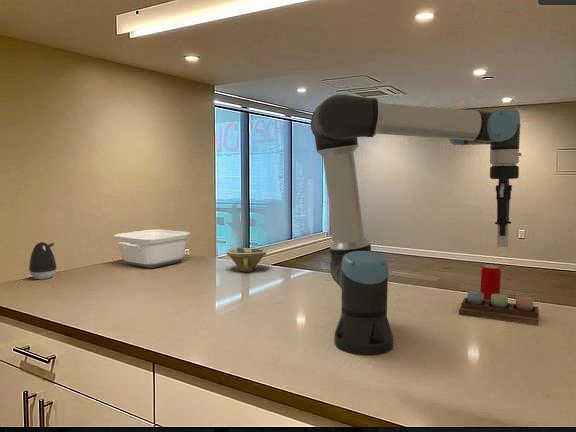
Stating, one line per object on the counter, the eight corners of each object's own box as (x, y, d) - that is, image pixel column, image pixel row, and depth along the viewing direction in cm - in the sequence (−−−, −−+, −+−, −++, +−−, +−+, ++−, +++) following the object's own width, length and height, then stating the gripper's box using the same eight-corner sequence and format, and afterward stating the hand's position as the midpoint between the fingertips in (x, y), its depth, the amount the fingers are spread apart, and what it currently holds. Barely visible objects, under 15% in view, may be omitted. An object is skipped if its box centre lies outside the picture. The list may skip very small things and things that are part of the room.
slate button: (482, 304, 145) (482, 295, 145) (466, 302, 147) (466, 293, 147) (484, 301, 149) (484, 292, 149) (468, 299, 152) (468, 290, 151)
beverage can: (495, 303, 157) (497, 269, 156) (477, 300, 161) (478, 266, 160) (502, 300, 161) (503, 266, 160) (483, 296, 166) (485, 263, 164)
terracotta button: (532, 311, 139) (533, 301, 138) (515, 309, 141) (515, 299, 141) (533, 307, 143) (533, 297, 142) (515, 305, 145) (516, 295, 145)
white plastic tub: (145, 274, 202) (144, 240, 201) (104, 266, 218) (103, 235, 216) (200, 261, 231) (199, 232, 229) (160, 255, 246) (159, 228, 245)
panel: (538, 325, 135) (538, 315, 135) (458, 314, 145) (459, 305, 145) (538, 314, 145) (539, 305, 145) (464, 304, 156) (464, 296, 156)
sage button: (507, 308, 142) (507, 298, 142) (490, 305, 144) (490, 296, 144) (508, 304, 146) (508, 294, 146) (491, 302, 148) (491, 292, 148)
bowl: (265, 275, 200) (265, 253, 199) (224, 274, 201) (223, 253, 200) (267, 266, 218) (267, 246, 217) (229, 266, 218) (229, 246, 217)
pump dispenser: (62, 277, 196) (60, 241, 195) (38, 282, 188) (36, 244, 186) (48, 274, 202) (47, 239, 200) (24, 278, 193) (22, 242, 192)
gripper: (517, 164, 125) (515, 251, 127) (520, 164, 136) (518, 243, 139) (487, 165, 129) (485, 249, 131) (492, 165, 140) (491, 242, 142)
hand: (502, 246), depth 135 cm, fingers closed
